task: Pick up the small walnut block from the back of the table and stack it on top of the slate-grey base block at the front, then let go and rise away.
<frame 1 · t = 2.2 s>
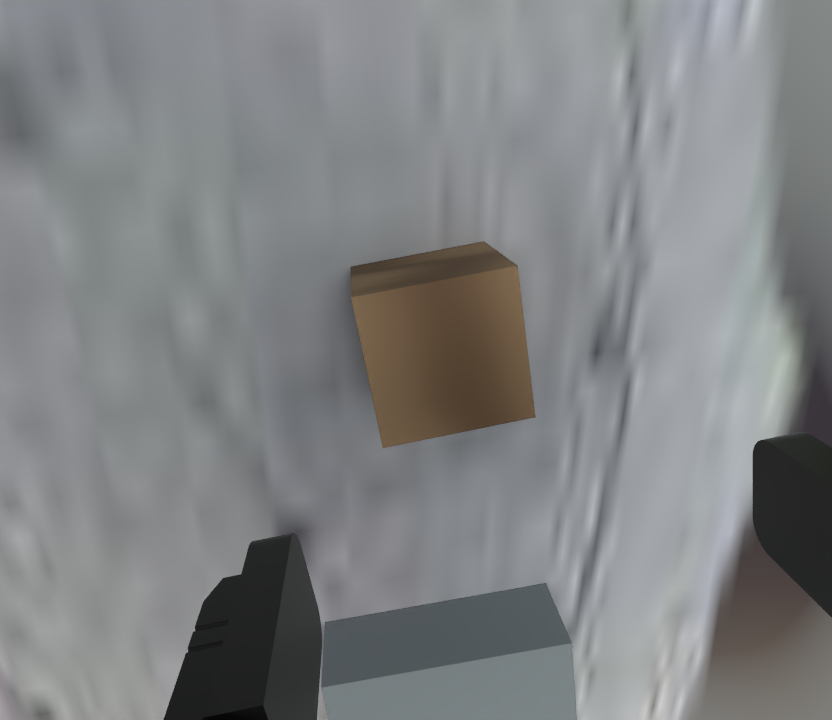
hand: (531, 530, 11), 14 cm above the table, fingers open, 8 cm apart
slate base block: (448, 682, 31), on the table
walnut block: (428, 318, 24), on the table
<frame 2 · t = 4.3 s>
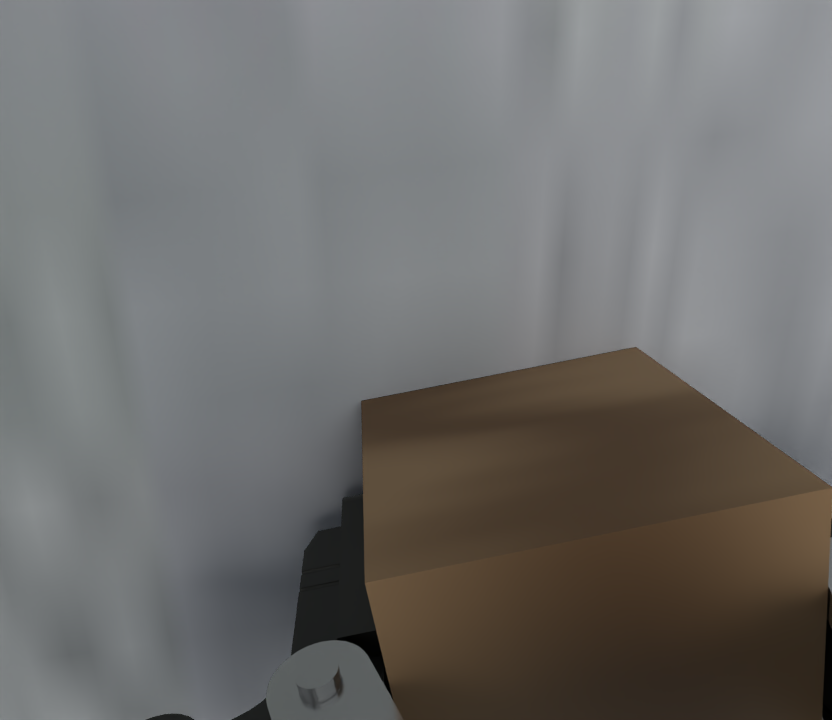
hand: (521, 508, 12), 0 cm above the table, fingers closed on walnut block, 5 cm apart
walnut block: (516, 494, 12), on the table, touching gripper
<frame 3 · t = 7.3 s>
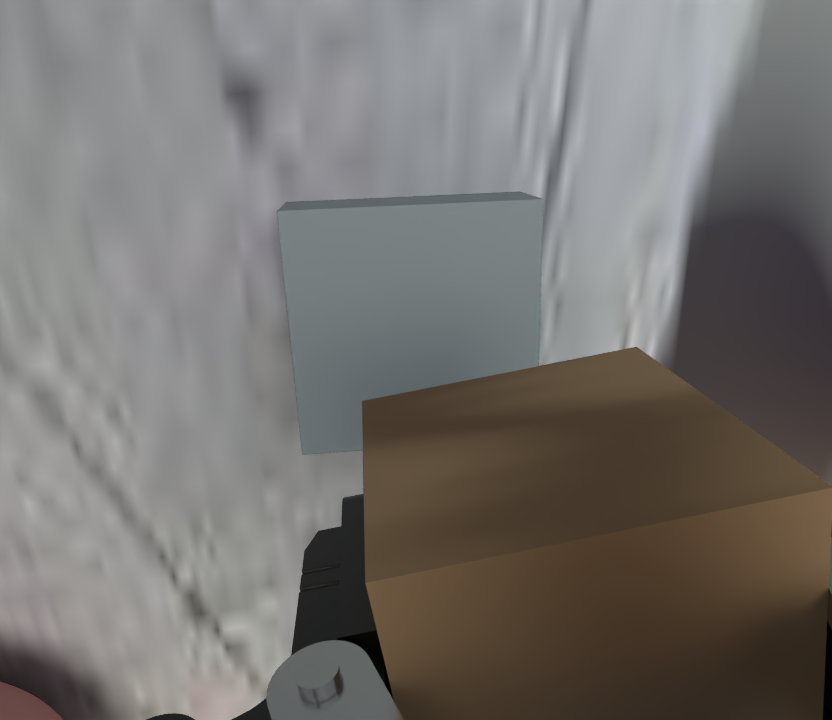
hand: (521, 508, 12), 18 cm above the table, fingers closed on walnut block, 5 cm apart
slate base block: (408, 308, 29), on the table
walnut block: (517, 494, 12), point 18 cm above the table, touching gripper
when the fingers open (6 cm above the table, at t = 10.5 s): walnut block drops 2 cm, resting on slate base block.
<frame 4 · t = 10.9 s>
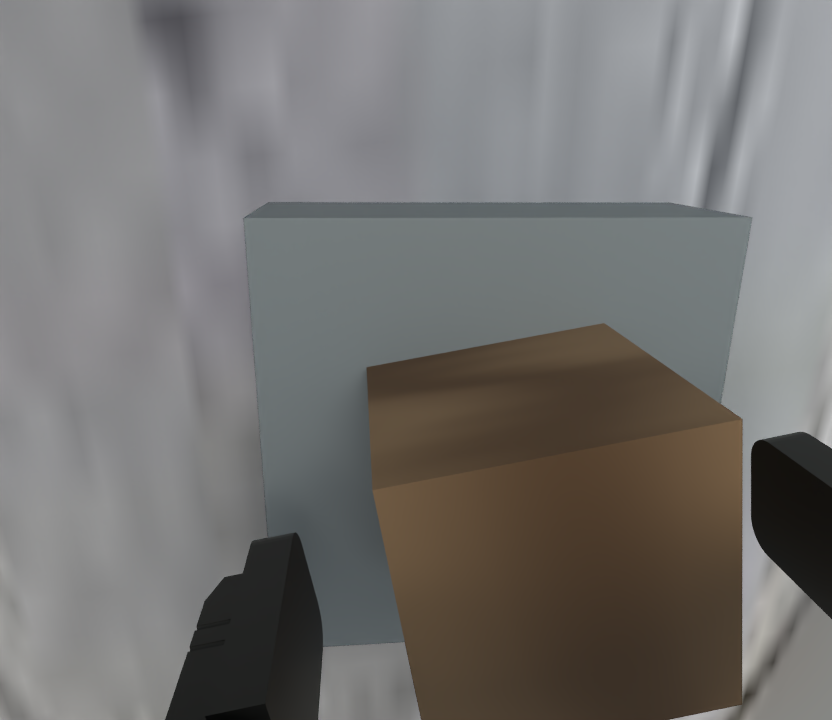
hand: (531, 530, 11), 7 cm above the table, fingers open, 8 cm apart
slate base block: (465, 386, 18), on the table, touching walnut block
walnut block: (500, 452, 14), point 4 cm above the table, touching slate base block
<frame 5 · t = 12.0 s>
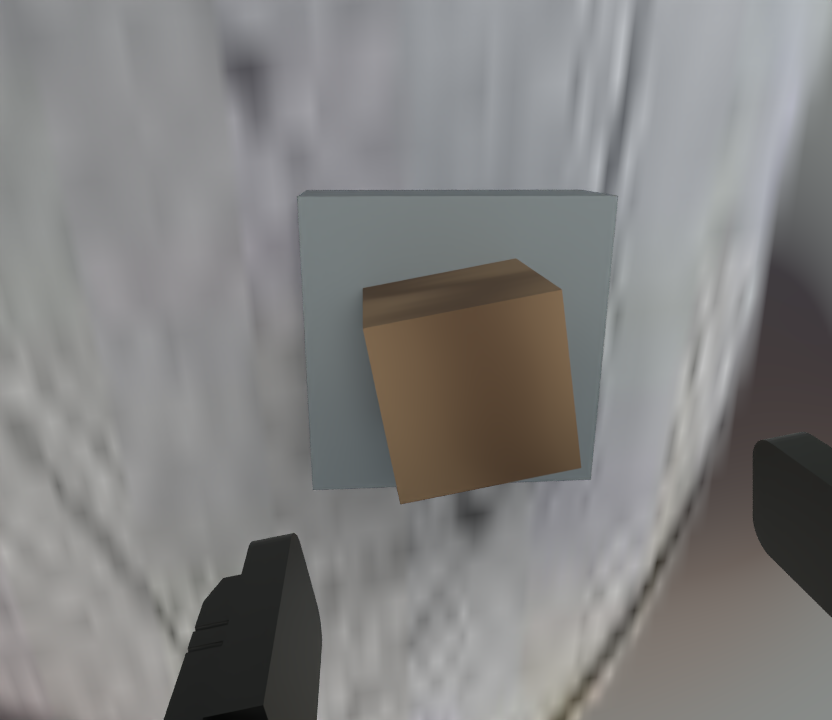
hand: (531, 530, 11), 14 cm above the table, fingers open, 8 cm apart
slate base block: (442, 321, 25), on the table, touching walnut block
walnut block: (451, 346, 21), point 4 cm above the table, touching slate base block
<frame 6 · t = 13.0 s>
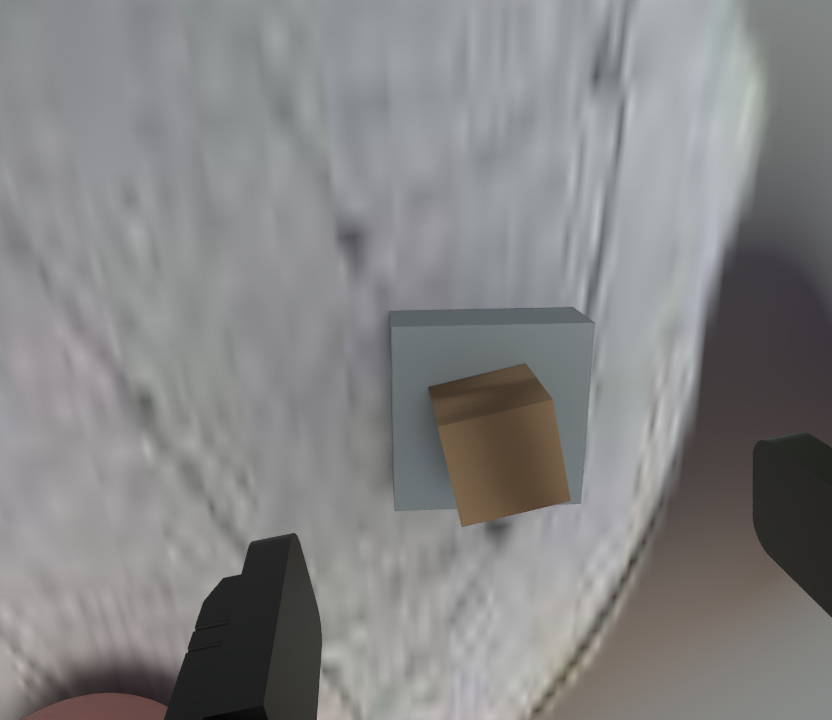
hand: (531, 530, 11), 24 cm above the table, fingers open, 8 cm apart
slate base block: (478, 393, 36), on the table
walnut block: (486, 420, 33), point 4 cm above the table
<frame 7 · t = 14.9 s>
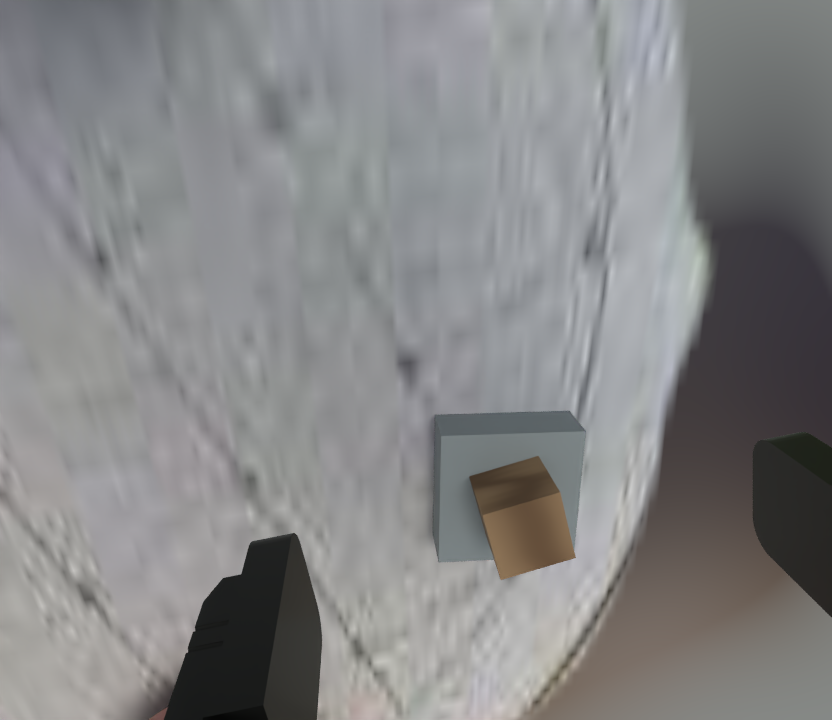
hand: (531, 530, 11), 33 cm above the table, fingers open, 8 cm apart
slate base block: (498, 471, 49), on the table, touching walnut block
walnut block: (511, 496, 45), point 4 cm above the table, touching slate base block
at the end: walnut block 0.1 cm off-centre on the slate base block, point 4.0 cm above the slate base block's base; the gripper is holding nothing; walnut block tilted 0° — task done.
